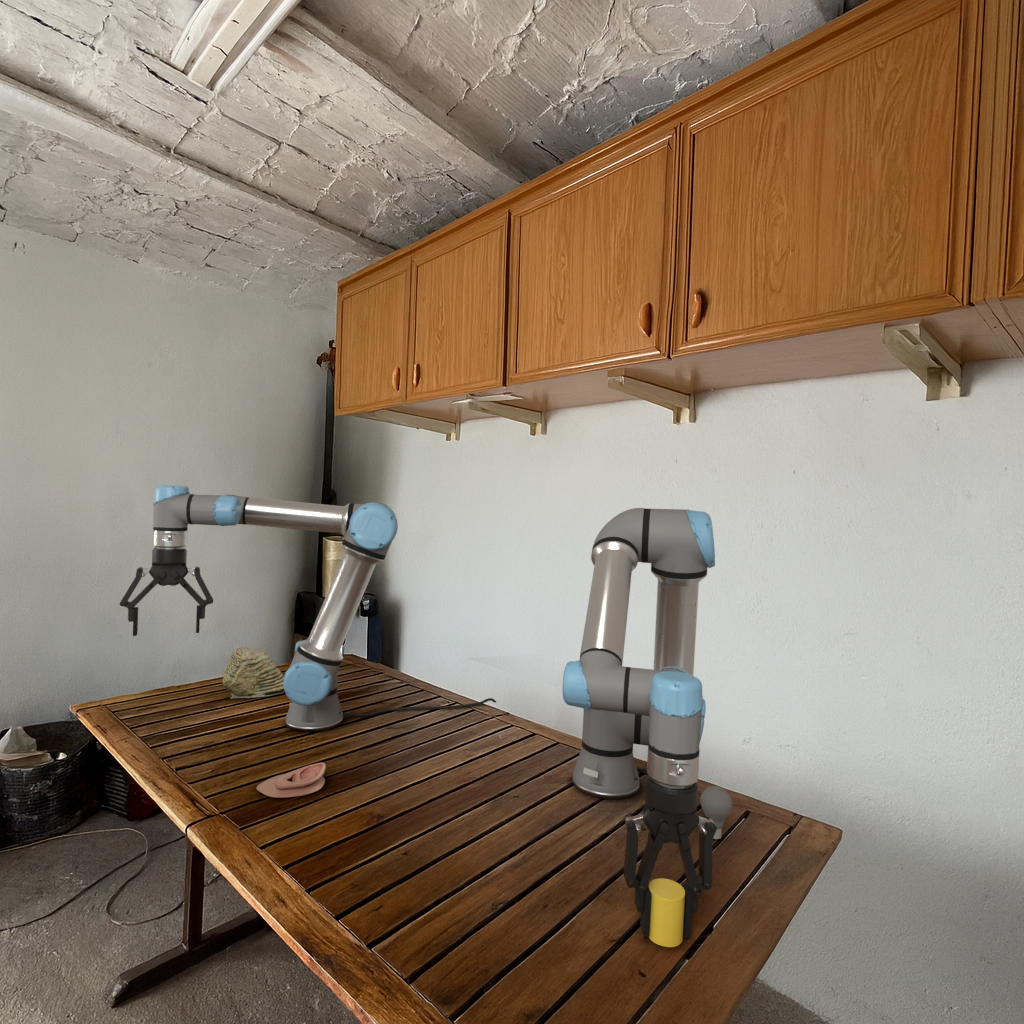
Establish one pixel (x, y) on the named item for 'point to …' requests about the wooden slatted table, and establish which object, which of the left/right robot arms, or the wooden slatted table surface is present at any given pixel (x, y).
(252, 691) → the fossil
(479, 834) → the wooden slatted table surface
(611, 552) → the right robot arm
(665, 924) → the cylinder
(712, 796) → the light bulb
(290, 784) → the anatomical model
